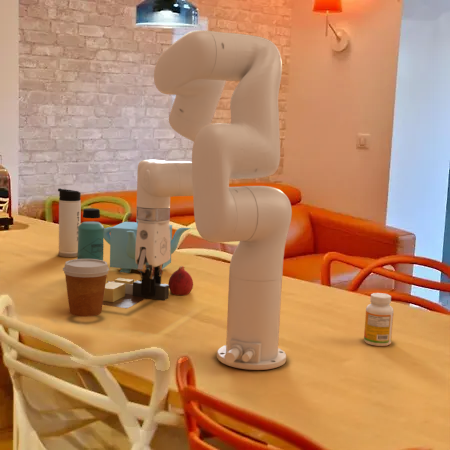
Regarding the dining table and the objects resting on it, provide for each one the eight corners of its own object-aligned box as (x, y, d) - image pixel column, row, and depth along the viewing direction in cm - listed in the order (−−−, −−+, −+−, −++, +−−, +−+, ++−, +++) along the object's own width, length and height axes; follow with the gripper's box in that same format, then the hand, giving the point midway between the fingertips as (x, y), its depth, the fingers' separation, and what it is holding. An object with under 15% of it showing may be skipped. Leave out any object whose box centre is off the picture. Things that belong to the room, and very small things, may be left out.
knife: (168, 298, 171) (169, 284, 170) (164, 300, 169) (164, 286, 168) (109, 290, 175) (110, 276, 175) (105, 292, 173) (105, 278, 173)
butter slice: (129, 294, 173) (129, 281, 172) (114, 292, 174) (114, 279, 173) (134, 291, 175) (134, 279, 175) (118, 289, 176) (119, 277, 176)
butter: (113, 302, 165) (113, 289, 165) (96, 300, 166) (97, 287, 166) (125, 296, 171) (125, 283, 170) (109, 294, 172) (109, 281, 171)
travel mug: (55, 253, 223) (55, 187, 220) (77, 253, 226) (77, 187, 223) (60, 258, 217) (60, 189, 214) (82, 256, 220) (83, 189, 217)
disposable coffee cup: (63, 325, 151) (64, 268, 149) (61, 313, 160) (61, 258, 158) (110, 324, 153) (112, 267, 152) (105, 311, 162) (106, 258, 161)
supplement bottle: (371, 336, 153) (375, 290, 151) (395, 342, 149) (399, 295, 148) (358, 342, 148) (362, 294, 147) (383, 348, 145) (386, 300, 144)
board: (127, 314, 161) (127, 308, 161) (78, 308, 165) (78, 301, 164) (157, 298, 176) (157, 292, 176) (111, 292, 180) (112, 286, 179)
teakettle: (96, 268, 206) (96, 215, 204) (154, 262, 217) (156, 212, 215) (128, 282, 191) (129, 225, 189) (189, 275, 202) (191, 221, 200)
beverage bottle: (70, 290, 180) (71, 208, 177) (87, 285, 186) (89, 205, 183) (92, 294, 177) (93, 211, 174) (108, 289, 183) (110, 208, 180)
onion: (188, 303, 173) (190, 269, 172) (165, 301, 174) (166, 267, 173) (194, 297, 178) (196, 264, 177) (171, 295, 180) (172, 262, 178)
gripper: (153, 220, 159) (151, 304, 162) (181, 212, 174) (179, 288, 177) (122, 217, 162) (120, 300, 164) (152, 209, 177) (150, 285, 179)
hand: (150, 293), depth 171 cm, fingers closed on knife, 2 cm apart
